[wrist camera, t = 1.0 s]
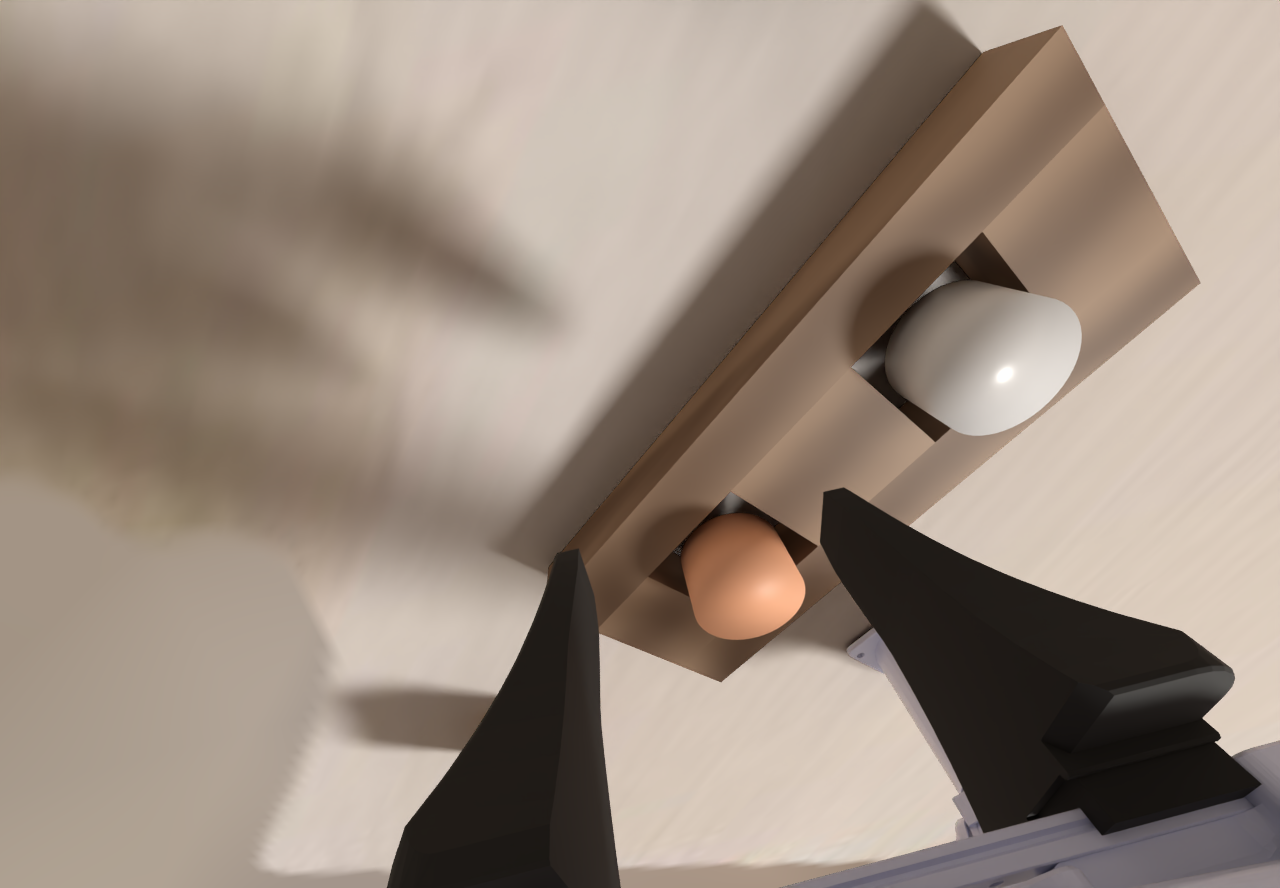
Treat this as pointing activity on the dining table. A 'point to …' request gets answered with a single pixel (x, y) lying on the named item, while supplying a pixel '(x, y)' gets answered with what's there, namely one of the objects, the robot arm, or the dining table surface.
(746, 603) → the terracotta button
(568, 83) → the dining table surface
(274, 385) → the dining table surface
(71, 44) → the dining table surface
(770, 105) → the dining table surface
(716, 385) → the button panel
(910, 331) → the grey button
